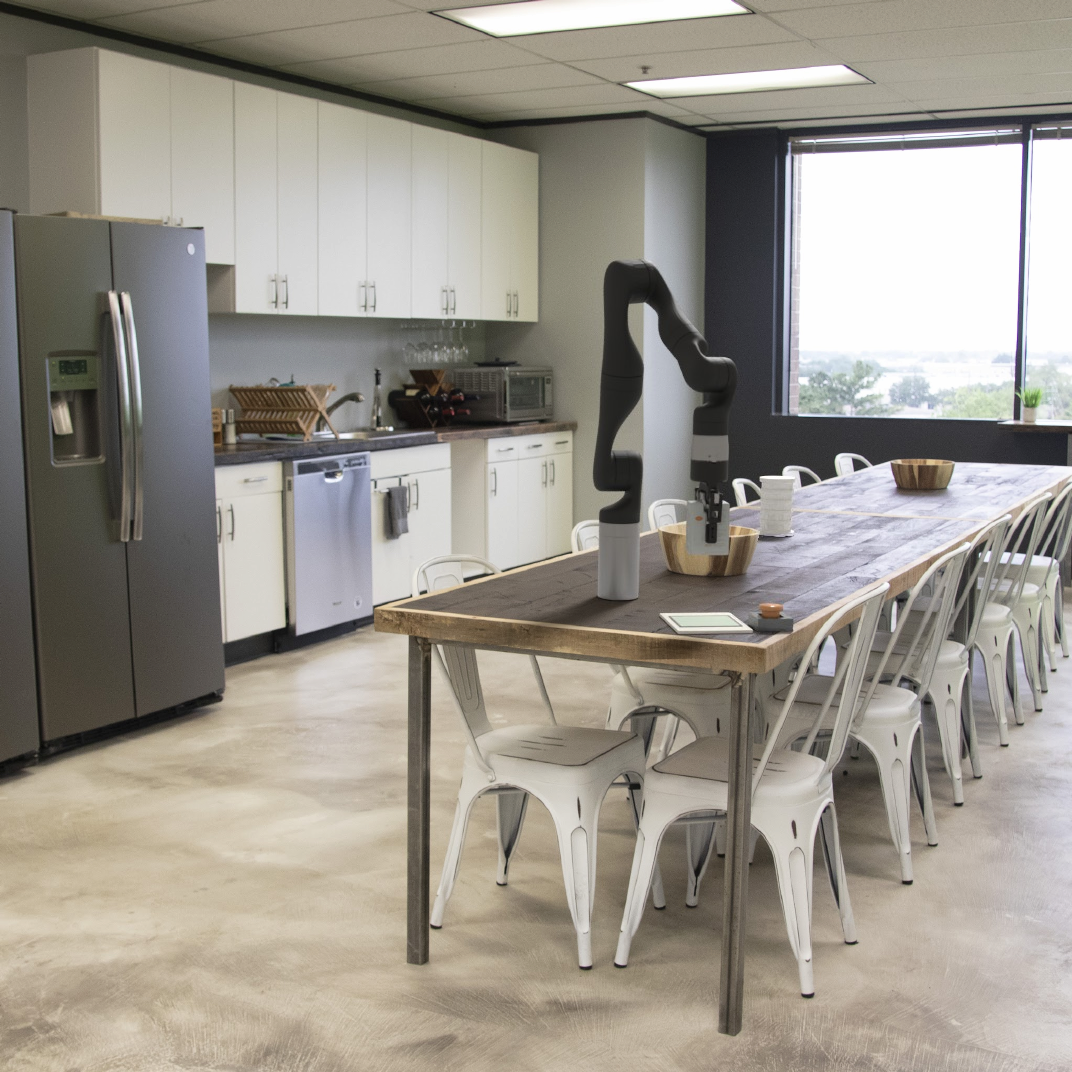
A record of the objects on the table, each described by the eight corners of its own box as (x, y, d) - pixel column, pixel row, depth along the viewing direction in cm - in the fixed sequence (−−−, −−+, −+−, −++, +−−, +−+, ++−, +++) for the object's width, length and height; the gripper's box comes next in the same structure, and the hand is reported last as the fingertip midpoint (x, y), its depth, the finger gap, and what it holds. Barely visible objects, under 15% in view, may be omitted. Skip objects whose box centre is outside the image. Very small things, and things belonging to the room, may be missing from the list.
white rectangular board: (659, 616, 267) (659, 612, 267) (729, 615, 269) (729, 611, 269) (678, 634, 250) (678, 630, 250) (752, 633, 251) (753, 629, 251)
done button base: (748, 624, 260) (748, 612, 260) (782, 623, 261) (782, 611, 260) (757, 631, 253) (758, 619, 253) (793, 631, 254) (793, 618, 253)
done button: (755, 618, 259) (756, 603, 258) (778, 617, 259) (779, 603, 259) (762, 622, 254) (762, 608, 254) (785, 622, 255) (786, 607, 254)
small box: (723, 551, 261) (725, 500, 259) (729, 555, 255) (730, 503, 254) (684, 551, 260) (686, 500, 259) (689, 555, 255) (690, 503, 253)
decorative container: (772, 531, 405) (774, 475, 403) (802, 535, 397) (804, 477, 394) (748, 534, 398) (750, 477, 396) (778, 538, 389) (780, 479, 387)
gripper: (683, 454, 262) (680, 536, 264) (699, 460, 247) (697, 546, 250) (718, 455, 262) (716, 536, 265) (737, 460, 248) (734, 546, 251)
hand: (707, 540), depth 257 cm, fingers closed on small box, 5 cm apart
